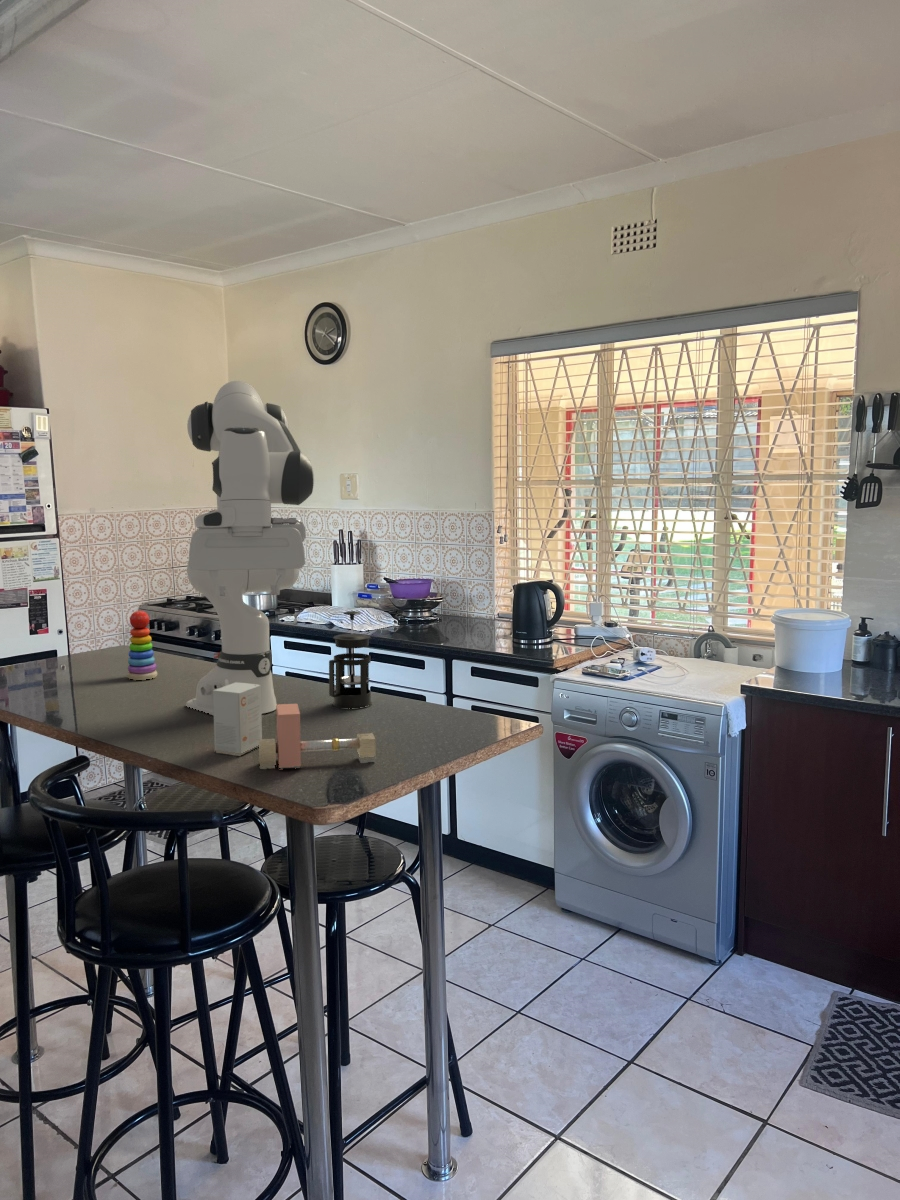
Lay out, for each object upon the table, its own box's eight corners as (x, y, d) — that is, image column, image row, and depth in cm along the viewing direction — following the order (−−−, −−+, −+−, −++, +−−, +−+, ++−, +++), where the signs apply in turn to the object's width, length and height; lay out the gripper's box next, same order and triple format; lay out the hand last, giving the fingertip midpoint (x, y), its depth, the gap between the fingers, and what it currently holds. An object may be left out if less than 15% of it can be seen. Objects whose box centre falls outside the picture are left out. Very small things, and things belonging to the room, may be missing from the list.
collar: (279, 769, 169) (278, 714, 167) (277, 756, 176) (276, 704, 175) (300, 768, 170) (300, 713, 168) (297, 755, 177) (297, 703, 176)
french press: (357, 697, 227) (357, 607, 224) (381, 704, 221) (381, 611, 218) (319, 705, 219) (318, 611, 216) (343, 712, 213) (342, 616, 210)
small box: (236, 742, 187) (235, 681, 186) (263, 746, 185) (262, 684, 183) (213, 753, 180) (211, 689, 178) (240, 757, 178) (239, 692, 176)
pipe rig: (259, 769, 170) (259, 745, 169) (259, 763, 174) (258, 739, 173) (375, 762, 175) (375, 738, 174) (372, 756, 179) (372, 733, 178)
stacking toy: (125, 676, 249) (123, 609, 247) (155, 674, 253) (153, 608, 250) (128, 682, 242) (125, 613, 240) (159, 679, 246) (157, 611, 243)
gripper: (302, 518, 166) (304, 593, 166) (187, 519, 160) (189, 597, 160) (307, 516, 160) (309, 594, 160) (187, 517, 154) (189, 597, 154)
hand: (248, 595), depth 160 cm, fingers open, 8 cm apart
